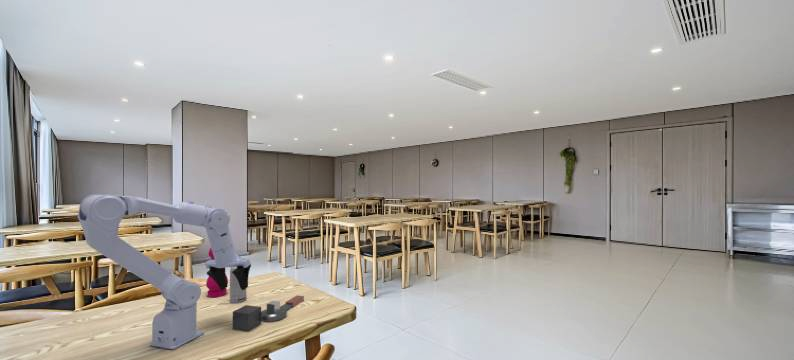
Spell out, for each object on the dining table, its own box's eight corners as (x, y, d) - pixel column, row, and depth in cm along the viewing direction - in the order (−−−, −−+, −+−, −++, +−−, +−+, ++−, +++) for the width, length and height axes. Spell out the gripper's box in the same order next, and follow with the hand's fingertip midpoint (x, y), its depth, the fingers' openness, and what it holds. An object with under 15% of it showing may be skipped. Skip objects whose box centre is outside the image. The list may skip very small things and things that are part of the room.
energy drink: (249, 298, 119) (249, 265, 119) (240, 303, 113) (241, 268, 113) (235, 297, 119) (235, 264, 119) (226, 302, 114) (226, 268, 114)
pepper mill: (208, 292, 125) (209, 240, 125) (229, 290, 127) (230, 239, 127) (203, 298, 118) (204, 243, 118) (225, 296, 120) (226, 242, 120)
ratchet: (276, 323, 97) (276, 308, 97) (253, 320, 99) (253, 305, 99) (310, 301, 116) (310, 288, 116) (290, 299, 118) (290, 286, 118)
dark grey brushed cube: (248, 331, 92) (248, 313, 92) (232, 329, 93) (232, 311, 93) (261, 323, 97) (261, 306, 97) (245, 321, 98) (246, 305, 98)
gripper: (252, 240, 99) (262, 281, 101) (213, 242, 102) (224, 281, 105) (235, 250, 92) (247, 294, 95) (195, 252, 96) (207, 294, 99)
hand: (234, 288), depth 100 cm, fingers open, 7 cm apart
